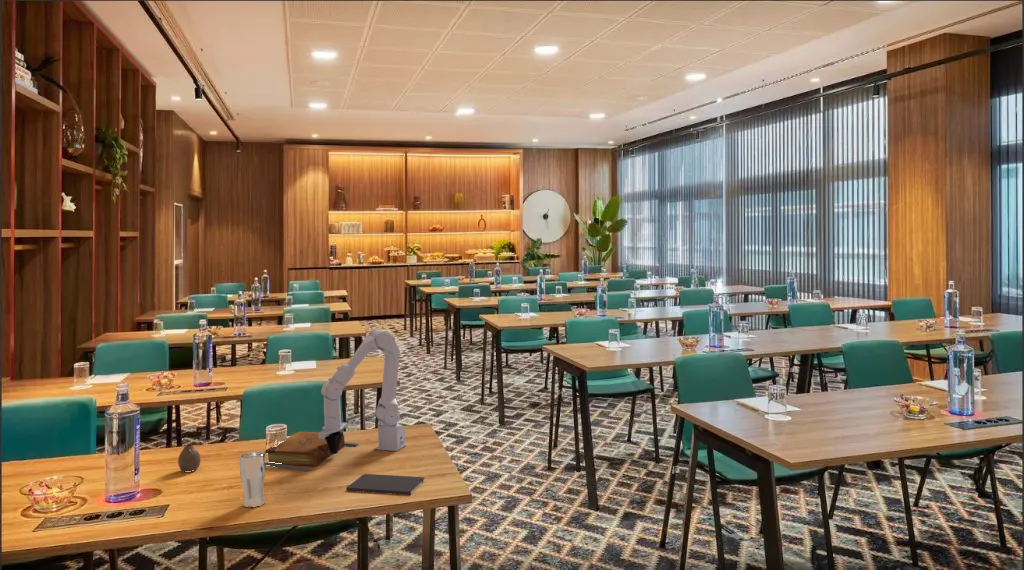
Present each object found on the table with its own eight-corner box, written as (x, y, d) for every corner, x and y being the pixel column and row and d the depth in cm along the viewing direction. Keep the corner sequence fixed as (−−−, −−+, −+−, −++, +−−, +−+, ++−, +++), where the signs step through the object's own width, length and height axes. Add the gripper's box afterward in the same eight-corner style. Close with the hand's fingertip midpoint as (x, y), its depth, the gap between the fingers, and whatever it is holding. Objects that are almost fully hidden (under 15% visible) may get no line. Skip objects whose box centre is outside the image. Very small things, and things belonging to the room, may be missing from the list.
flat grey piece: (357, 445, 260) (357, 443, 260) (308, 471, 232) (308, 468, 232) (297, 439, 270) (297, 437, 270) (243, 463, 242) (243, 461, 242)
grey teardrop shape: (175, 471, 236) (173, 446, 235) (195, 465, 241) (194, 441, 241) (183, 475, 231) (182, 449, 231) (204, 470, 236) (202, 445, 236)
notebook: (346, 492, 214) (410, 496, 209) (346, 487, 213) (410, 491, 209) (364, 478, 226) (425, 481, 221) (364, 473, 226) (425, 477, 221)
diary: (315, 468, 237) (314, 452, 236) (266, 466, 240) (265, 450, 240) (344, 447, 259) (344, 432, 259) (299, 446, 263) (298, 431, 262)
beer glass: (258, 509, 200) (255, 459, 199) (237, 508, 202) (234, 458, 201) (271, 500, 207) (269, 451, 206) (250, 499, 208) (247, 450, 207)
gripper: (335, 409, 254) (336, 446, 254) (310, 420, 240) (312, 458, 241) (351, 411, 251) (353, 447, 252) (327, 421, 237) (329, 460, 238)
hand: (334, 453), depth 246 cm, fingers closed
